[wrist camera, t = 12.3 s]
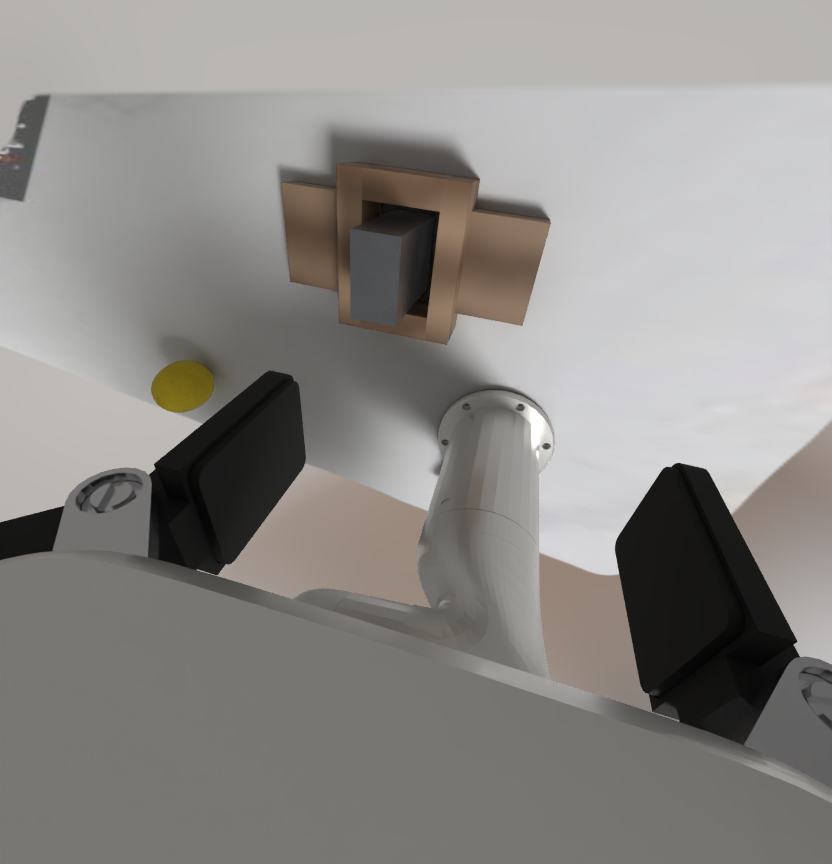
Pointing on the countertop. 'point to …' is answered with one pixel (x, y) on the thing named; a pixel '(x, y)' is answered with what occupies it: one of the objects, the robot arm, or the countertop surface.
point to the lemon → (182, 386)
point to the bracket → (389, 265)
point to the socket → (454, 254)
